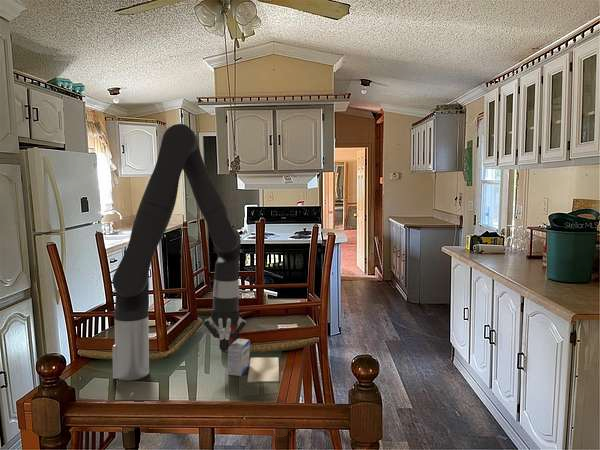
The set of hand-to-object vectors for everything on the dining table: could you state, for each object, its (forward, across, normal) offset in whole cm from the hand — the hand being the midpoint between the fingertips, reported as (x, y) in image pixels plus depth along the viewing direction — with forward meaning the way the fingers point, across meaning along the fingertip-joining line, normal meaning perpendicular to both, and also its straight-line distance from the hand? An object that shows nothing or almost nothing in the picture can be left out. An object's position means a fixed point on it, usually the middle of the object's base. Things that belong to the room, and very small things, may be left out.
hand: (224, 350), depth 133 cm
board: (+6, +12, 0) cm, 13 cm away
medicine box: (+6, +4, 0) cm, 8 cm away
